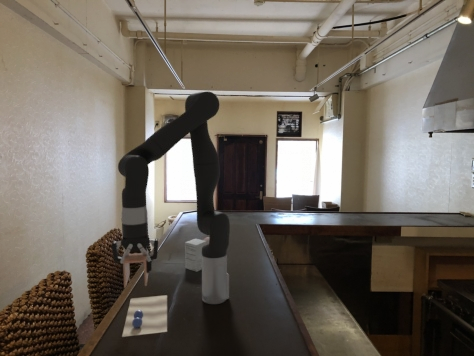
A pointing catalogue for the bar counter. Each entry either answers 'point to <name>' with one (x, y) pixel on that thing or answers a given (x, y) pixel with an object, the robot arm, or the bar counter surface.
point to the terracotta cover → (134, 259)
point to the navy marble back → (138, 314)
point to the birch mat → (147, 316)
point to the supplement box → (194, 254)
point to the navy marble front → (137, 322)
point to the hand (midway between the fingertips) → (136, 272)
